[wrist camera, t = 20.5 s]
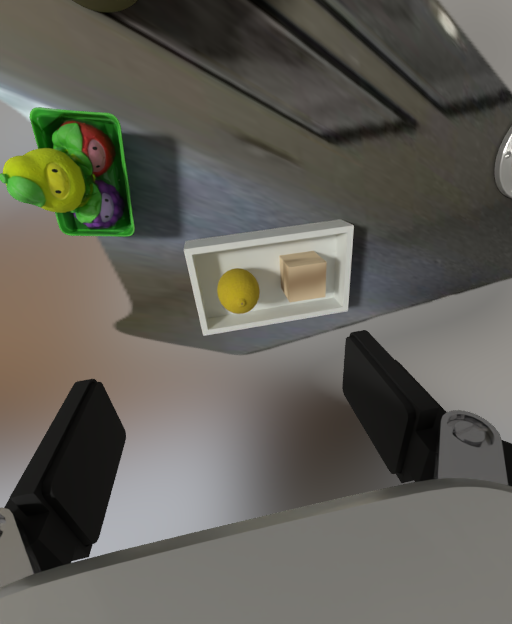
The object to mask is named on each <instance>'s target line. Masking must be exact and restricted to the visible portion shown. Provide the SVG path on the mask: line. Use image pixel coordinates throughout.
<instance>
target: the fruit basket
mask: <svg viewBox="0 0 512 624" xmlns="http://www.w3.org/2000/svg"><path fill="white" fill-rule="evenodd" d="M30 120H31V124H32V128H33V131H34V135H35V139H36V142H37V146H38V149H36V150H32V151H30V152H28V153H26V154H25V155H23V156H15V157H13V158H10V159H9V160H8V161H7V162H6V163H5V165H4V168H3V173H2V174H0V180H1V181H2V182H3V183H6V186H7V190H8V192H9V194H10V195H11V196H12V197H13V198H15V199H16V200H18V201H21V202H24V203H29V204H33V205H36V206H38V207H41V208H43V209H45V210H49V211H52V212H55V214H56V217H57V221H58V225H59V228H60V230H61V231H62V232H63V233H65V234H67V235H71V236H79V235H80V236H131V235H132V234H133V233H134V231H135V226H134V220H133V213H132V206H131V199H130V189H129V181H128V174H127V167H126V162H125V155H124V148H123V140H122V133H121V126H120V123H119V120H118V119H117V118H116V117H115V116H114V115H112V114H110V113H99V112H84V111H71V110H60V109H50V108H41V107H38V108H34V109H32V111H31V112H30Z"/></svg>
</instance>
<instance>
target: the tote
mask: <svg viewBox="0 0 512 624" xmlns="http://www.w3.org/2000/svg"><path fill="white" fill-rule="evenodd" d="M353 231H354V225H352V224H350V223H348V222H345V221H343V220H341V219H340V220H333V221H325V222H318V223H311V224H304V225H297V226H289V227H282V228H275V229H268V230H261V231H254V232H246V233H239V234H232V235H225V236H218V237H210V238H203V239H196V240H189V241H185V246H184V253H185V257H186V262H187V266H188V270H189V275H190V279H191V284H192V288H193V292H194V297H195V301H196V306H197V310H198V314H199V319H200V323H201V328H202V332H203V336H205V335H211V334H216V333H222V332H228V331H234V330H240V329H246V328H251V327H257V326H263V325H269V324H275V323H281V322H286V321H292V320H298V319H304V318H310V317H316V316H322V315H327V314H333V313H339V312H345V311H348V302H349V288H350V274H351V260H352V246H353ZM309 251H314V252H315V253H317V254H318V255H319V256H320V257H321V258H322V259H324V260H325V261H326V262H327V265H326V293H325V297H322V298H315V299H309V300H303V301H296V302H289V300H288V299H287V297H286V295H285V294H284V292H283V290H282V289H281V279H280V258H279V256H280V255H287V254H294V253H301V252H309ZM236 268H240V269H244V270H247V271H249V272H250V273H251V274H252V275H253V276H254V277H255V278H256V280H257V282H258V284H259V289H260V294H259V299H258V302H257V304H256V305H255V307H254V308H253V309H252V310H250V311H249V312H247V313H243V314H236V313H232V312H230V311H228V310H227V309H225V308H224V306H223V305H222V304H221V302H220V300H219V298H218V294H217V286H218V282H219V280H220V278H221V277H222V275H223V274H224V273H226V272H227V271H229V270H231V269H236Z"/></svg>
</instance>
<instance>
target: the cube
mask: <svg viewBox="0 0 512 624" xmlns="http://www.w3.org/2000/svg"><path fill="white" fill-rule="evenodd" d="M279 258H280V279H281V289H282V290H283V292H284V294H285V295H286V297H287V299H288V300H289V302H296V301H303V300H309V299H315V298H322V297H325V293H326V265H327V262H326V261H325V260H324V259H322V258H321V257H320V256H319V255H318V254H317V253H315V252H314V251H309V252H301V253H294V254H287V255H280V256H279Z"/></svg>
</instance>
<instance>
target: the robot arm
mask: <svg viewBox="0 0 512 624" xmlns="http://www.w3.org/2000/svg"><path fill="white" fill-rule="evenodd" d="M495 181H496V185H497V187H498V189H499V191H500V192H501V193H502V194H503V195H505V196H506V197H508V198H512V126H511V127H510V129H509V131H508V132H507V134H506V135H505V137H504V139H503V141H502V143H501V146H500V148H499V151H498V154H497V157H496V162H495ZM343 392H344V395H345V397H346V399H347V400H348V402H349V404H350V405H351V407H352V409H353V411H354V412H355V414H356V416H357V417H358V419H359V421H360V422H361V424H362V426H363V427H364V429H365V431H366V432H367V434H368V436H369V437H370V439H371V441H372V443H373V444H374V446H375V448H376V449H377V451H378V453H379V454H380V456H381V458H382V459H383V461H384V463H385V464H386V466H387V468H388V469H389V471H390V472H391V473H392V474H396V475H397V476H398V478H399V480H400V481H401V483H404V482H408V481H413V480H414V481H415V482H413V483H409V484H403V485H399V486H394V487H389V488H384V489H380V490H375V491H370V492H366V493H361V494H357V495H352V496H348V497H344V498H340V499H335V500H331V501H326V502H322V503H318V504H313V505H309V506H305V507H300V508H296V509H292V510H287V511H283V512H279V513H275V514H270V515H266V516H262V517H258V518H253V519H249V520H245V521H241V522H237V523H232V524H228V525H224V526H220V527H216V528H211V529H207V530H203V531H199V532H194V533H190V534H186V535H182V536H178V537H174V538H170V539H165V540H161V541H157V542H153V543H149V544H145V545H141V546H137V547H133V548H128V549H125V550H120V551H116V552H112V553H108V554H105V555H101V556H97V557H93V558H89V559H85V560H81V561H77V562H74V563H71V561H74V560H78V559H82V558H86V557H89V554H90V551H91V548H92V544H94V543H96V542H97V540H98V538H99V535H100V532H101V528H102V524H103V521H104V517H105V513H106V509H107V506H108V502H109V499H110V495H111V491H112V488H113V484H114V480H115V477H116V473H117V469H118V465H119V462H120V458H121V455H122V451H123V447H124V444H125V440H126V433H125V429H124V427H123V425H122V423H121V421H120V419H119V417H118V415H117V413H116V411H115V409H114V407H113V405H112V403H111V401H110V398H109V396H108V394H107V392H106V390H105V388H104V386H103V384H102V383H101V382H97V381H96V380H95V379H90V380H84V381H79V382H76V383H75V384H74V385H73V387H72V389H71V391H70V392H69V394H68V396H67V398H66V399H65V401H64V403H63V405H62V406H61V408H60V410H59V412H58V413H57V415H56V417H55V419H54V421H53V422H52V424H51V426H50V427H49V429H48V431H47V433H46V435H45V436H44V438H43V440H42V442H41V443H40V445H39V447H38V449H37V450H36V452H35V454H34V456H33V457H32V459H31V461H30V463H29V465H28V466H27V468H26V470H25V472H24V473H23V475H22V477H21V479H20V480H19V482H18V484H17V486H16V488H15V489H14V491H13V493H12V494H11V496H10V499H9V501H8V502H7V504H6V506H5V507H4V508H0V624H512V444H511V443H508V442H506V441H503V440H501V437H500V434H499V433H498V431H497V430H496V428H495V427H494V426H493V425H491V424H490V423H489V422H488V421H487V420H485V419H483V418H482V417H480V416H478V415H475V414H473V413H470V412H466V411H461V410H453V411H449V412H446V411H445V410H444V409H443V408H442V407H441V406H440V405H439V404H438V403H437V402H436V401H435V400H434V399H433V398H432V397H431V396H430V394H429V393H428V392H427V391H426V390H425V389H424V388H423V387H422V386H421V385H420V384H419V383H418V382H417V381H416V380H415V379H414V378H413V377H412V376H411V375H410V374H409V373H408V371H407V370H406V369H405V368H404V367H403V366H402V365H401V364H400V363H399V362H398V361H396V360H394V359H393V358H392V357H391V356H390V355H389V353H387V351H386V350H385V349H384V348H383V347H382V346H381V345H380V344H379V343H378V342H377V341H376V340H375V339H374V338H373V337H372V336H371V335H370V333H369V332H368V331H366V330H363V331H357V332H352V333H351V334H350V337H347V338H346V345H345V359H344V373H343Z"/></svg>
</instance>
